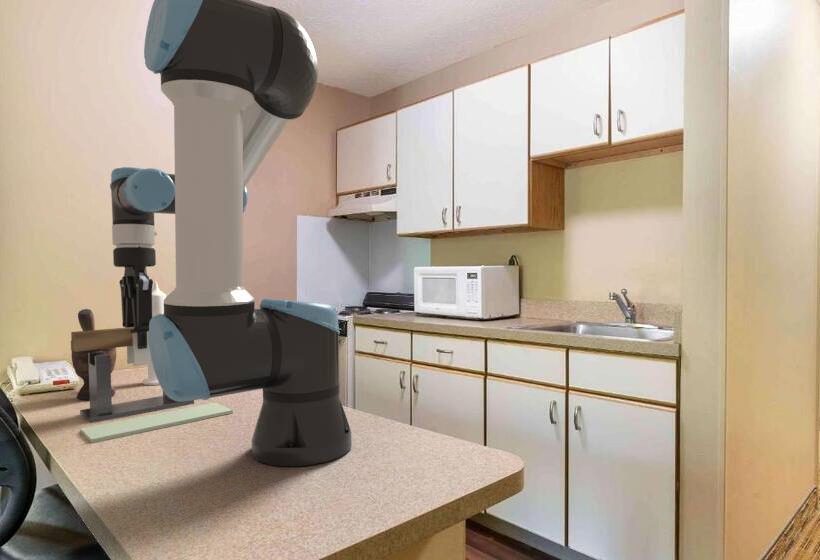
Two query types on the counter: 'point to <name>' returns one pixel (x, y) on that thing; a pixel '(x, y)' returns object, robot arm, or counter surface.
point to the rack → (103, 400)
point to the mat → (153, 422)
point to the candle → (156, 309)
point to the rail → (101, 339)
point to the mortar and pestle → (81, 357)
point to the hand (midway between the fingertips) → (138, 363)
